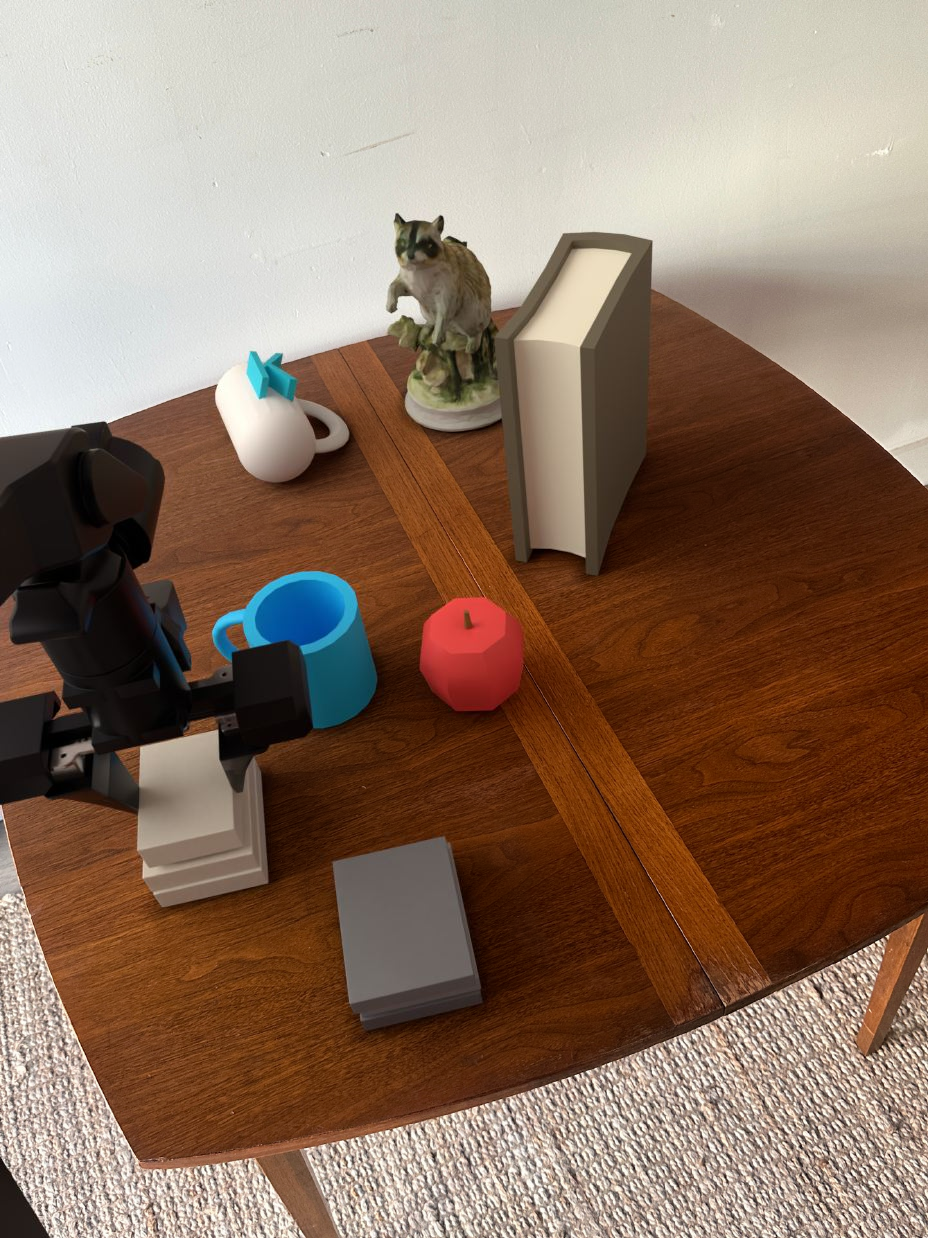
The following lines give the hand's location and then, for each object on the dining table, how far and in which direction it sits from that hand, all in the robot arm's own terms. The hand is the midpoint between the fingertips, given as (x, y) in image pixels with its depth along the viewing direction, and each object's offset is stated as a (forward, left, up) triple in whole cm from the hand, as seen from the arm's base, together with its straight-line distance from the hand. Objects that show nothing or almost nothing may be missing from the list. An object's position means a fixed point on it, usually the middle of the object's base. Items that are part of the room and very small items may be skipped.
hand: (191, 797), depth 66 cm
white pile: (0, 0, -5) cm, 5 cm away
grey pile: (-11, -12, -5) cm, 17 cm away
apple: (+8, -20, -5) cm, 22 cm away
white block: (0, 0, -1) cm, 1 cm away
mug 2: (+12, -7, -5) cm, 15 cm away
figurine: (+44, -26, -5) cm, 51 cm away
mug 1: (+41, -9, -5) cm, 42 cm away
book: (+25, -33, -5) cm, 42 cm away
